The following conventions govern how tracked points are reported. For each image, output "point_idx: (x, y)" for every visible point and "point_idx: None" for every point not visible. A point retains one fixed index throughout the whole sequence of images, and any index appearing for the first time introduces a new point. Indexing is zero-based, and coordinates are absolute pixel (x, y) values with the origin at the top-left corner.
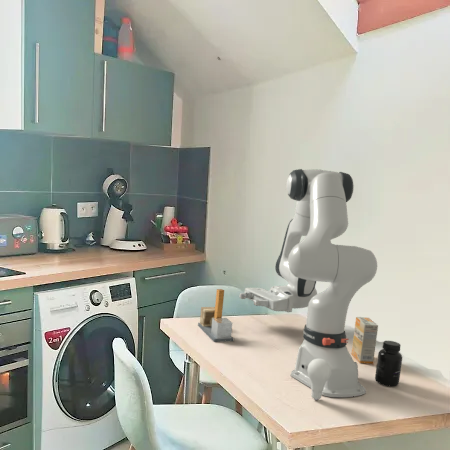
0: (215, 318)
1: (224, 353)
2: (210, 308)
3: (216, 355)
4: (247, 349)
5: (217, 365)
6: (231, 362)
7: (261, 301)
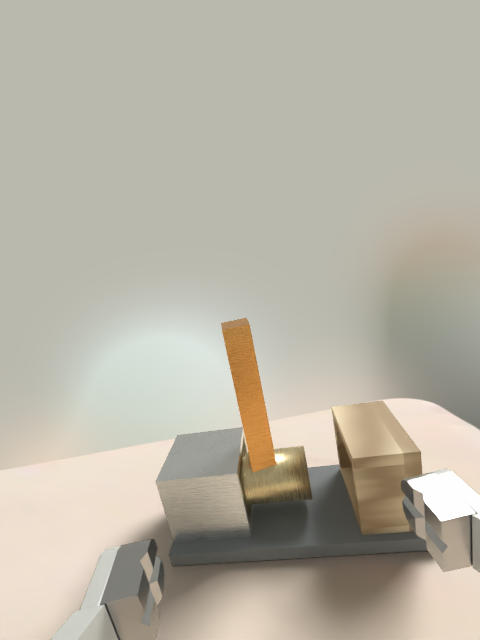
0: (235, 434)
1: (94, 497)
2: (369, 424)
3: (99, 474)
4: (55, 602)
5: (51, 465)
6: (31, 499)
7: (62, 632)
